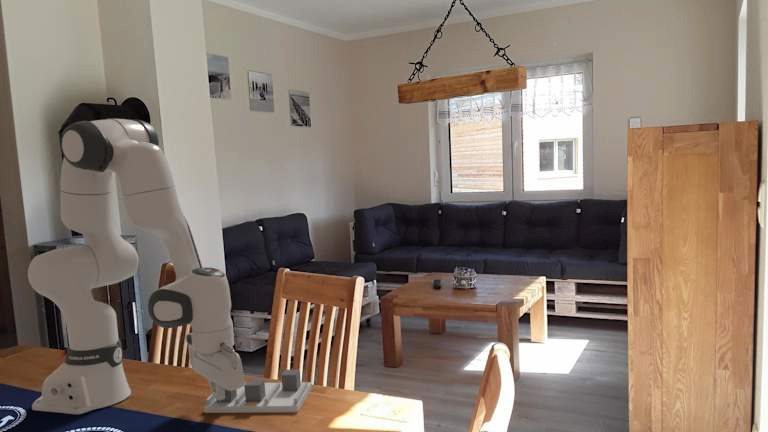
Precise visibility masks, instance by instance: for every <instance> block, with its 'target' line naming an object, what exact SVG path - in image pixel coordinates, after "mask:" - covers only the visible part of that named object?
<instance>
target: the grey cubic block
mask: <svg viewBox="0 0 768 432" xmlns="http://www.w3.org/2000/svg"><path fill="white" fill-rule="evenodd" d="M245 383H246V384H245V385H244V387H245V399H246V402H261V401H262V400H263V398H264V397H265V396H266V395H265V383H266V382H265V379H262V378H261V379H248V381H247V382H245Z"/></svg>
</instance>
